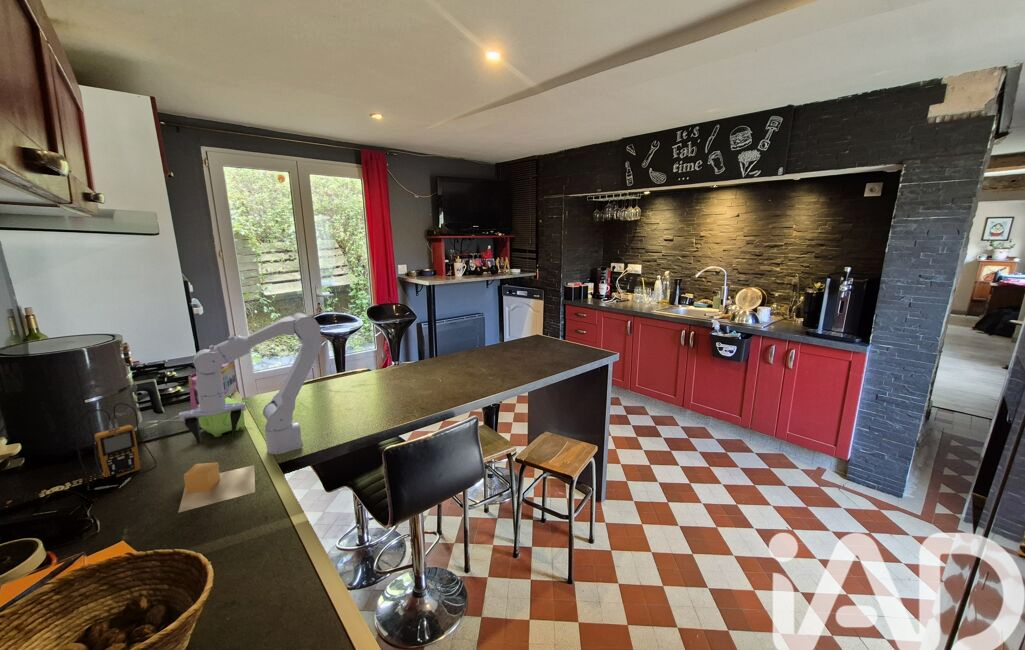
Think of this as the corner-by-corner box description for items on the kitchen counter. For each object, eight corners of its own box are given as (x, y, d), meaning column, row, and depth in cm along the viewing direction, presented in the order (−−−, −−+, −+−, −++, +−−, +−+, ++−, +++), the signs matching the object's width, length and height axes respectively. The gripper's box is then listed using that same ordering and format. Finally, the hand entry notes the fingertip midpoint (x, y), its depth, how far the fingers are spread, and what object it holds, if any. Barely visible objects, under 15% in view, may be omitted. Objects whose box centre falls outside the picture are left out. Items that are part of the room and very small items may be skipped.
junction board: (254, 469, 112) (252, 452, 111) (255, 497, 100) (253, 477, 98) (187, 486, 104) (184, 467, 103) (179, 518, 91) (175, 497, 90)
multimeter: (93, 498, 98) (79, 423, 94) (82, 485, 103) (68, 413, 99) (168, 471, 110) (157, 404, 106) (154, 461, 115) (144, 396, 112)
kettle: (238, 438, 130) (234, 406, 128) (187, 443, 126) (183, 410, 124) (255, 419, 144) (251, 390, 142) (210, 423, 140) (206, 393, 138)
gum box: (213, 410, 151) (209, 377, 149) (189, 412, 149) (184, 378, 147) (238, 389, 174) (234, 360, 171) (217, 390, 172) (213, 361, 169)
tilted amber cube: (220, 479, 104) (218, 462, 103) (209, 491, 99) (207, 473, 98) (198, 481, 103) (195, 464, 102) (186, 493, 98) (183, 475, 97)
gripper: (243, 384, 114) (248, 427, 117) (179, 393, 106) (185, 439, 109) (243, 391, 109) (248, 437, 111) (175, 401, 101) (182, 450, 103)
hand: (217, 439), depth 110 cm, fingers open, 7 cm apart
